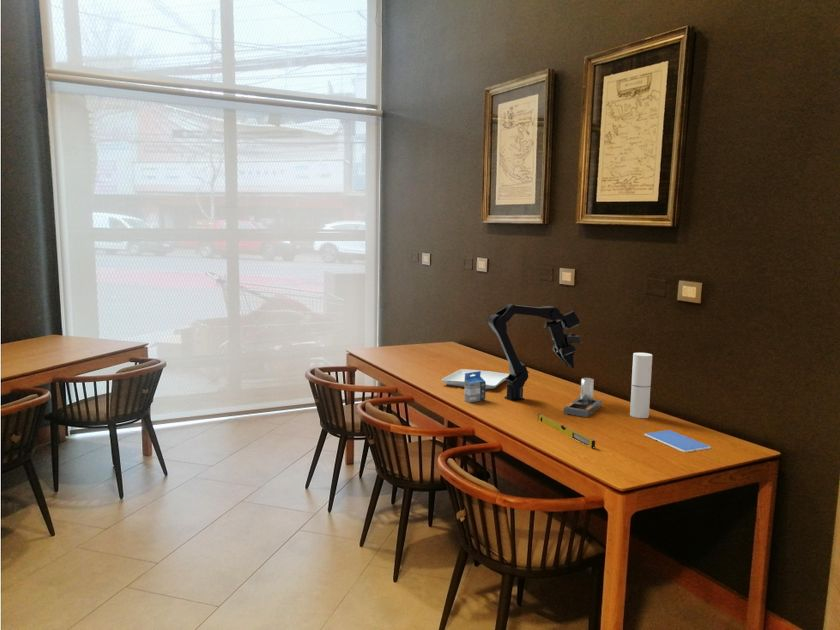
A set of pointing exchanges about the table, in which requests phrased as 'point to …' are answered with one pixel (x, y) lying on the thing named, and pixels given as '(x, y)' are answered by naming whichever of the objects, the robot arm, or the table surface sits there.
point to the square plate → (488, 376)
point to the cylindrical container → (641, 385)
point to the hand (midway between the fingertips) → (570, 366)
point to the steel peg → (587, 390)
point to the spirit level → (566, 430)
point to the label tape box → (474, 387)
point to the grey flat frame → (581, 408)
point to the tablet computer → (677, 441)
